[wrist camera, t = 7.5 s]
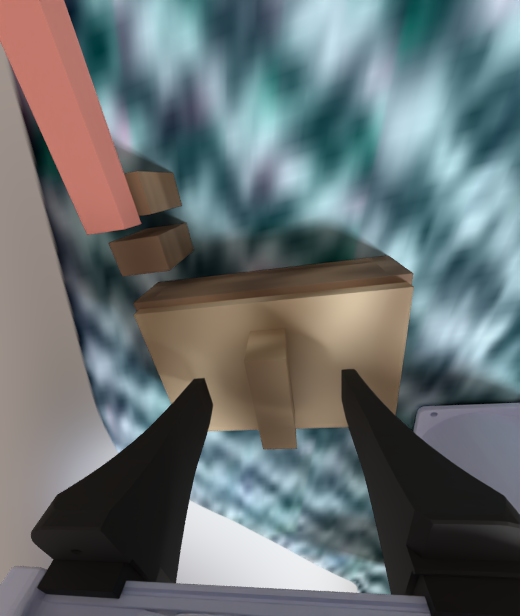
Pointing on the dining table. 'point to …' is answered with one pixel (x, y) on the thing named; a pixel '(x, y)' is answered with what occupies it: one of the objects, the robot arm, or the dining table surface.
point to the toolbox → (177, 245)
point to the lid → (282, 355)
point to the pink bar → (67, 110)
